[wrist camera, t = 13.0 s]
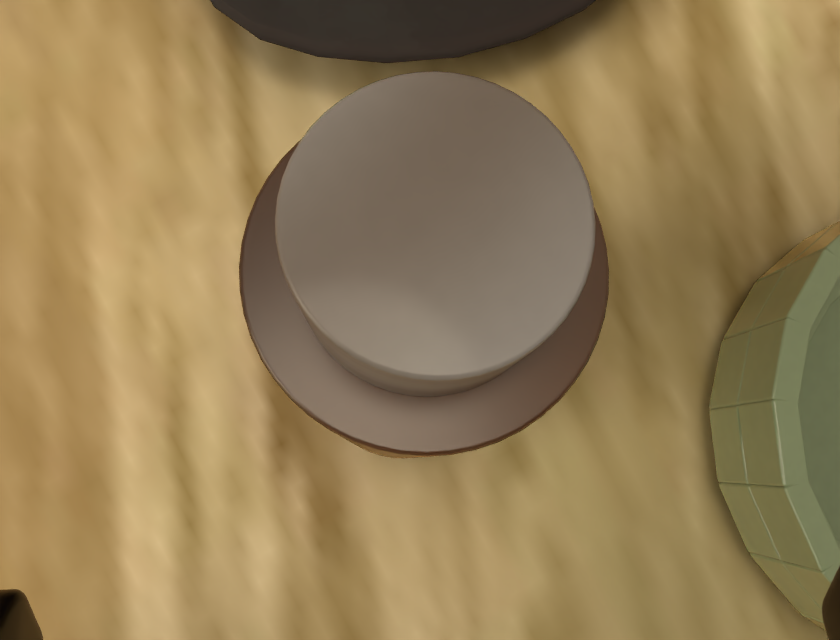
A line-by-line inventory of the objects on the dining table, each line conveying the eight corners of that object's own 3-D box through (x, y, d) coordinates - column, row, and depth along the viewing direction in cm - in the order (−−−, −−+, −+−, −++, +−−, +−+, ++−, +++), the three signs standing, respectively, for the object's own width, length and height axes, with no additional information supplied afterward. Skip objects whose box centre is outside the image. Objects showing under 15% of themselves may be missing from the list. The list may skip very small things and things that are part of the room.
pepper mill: (527, 368, 21) (759, 223, 8) (402, 496, 20) (438, 560, 7) (403, 246, 21) (436, -76, 8) (276, 367, 21) (102, 214, 8)
